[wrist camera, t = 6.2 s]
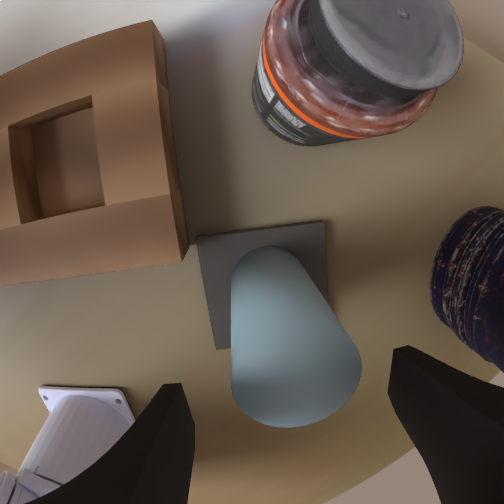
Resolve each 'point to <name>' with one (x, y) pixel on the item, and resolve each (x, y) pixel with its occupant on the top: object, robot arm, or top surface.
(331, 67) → the supplement bottle
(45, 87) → the holder
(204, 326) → the top surface
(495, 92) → the top surface
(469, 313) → the storage jar
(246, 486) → the top surface
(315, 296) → the peg
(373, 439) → the top surface
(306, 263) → the mat
